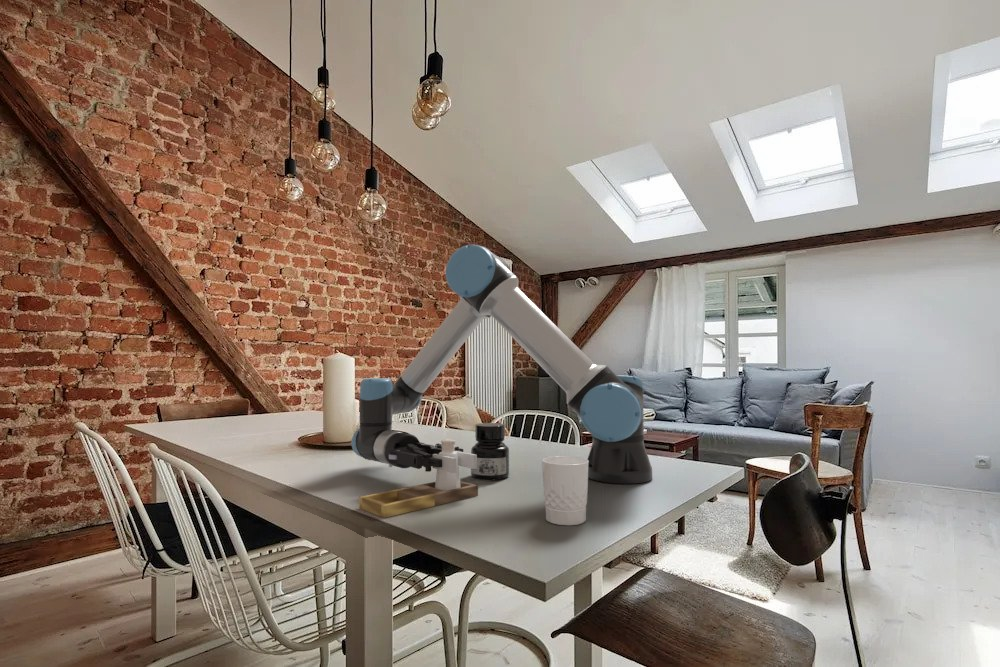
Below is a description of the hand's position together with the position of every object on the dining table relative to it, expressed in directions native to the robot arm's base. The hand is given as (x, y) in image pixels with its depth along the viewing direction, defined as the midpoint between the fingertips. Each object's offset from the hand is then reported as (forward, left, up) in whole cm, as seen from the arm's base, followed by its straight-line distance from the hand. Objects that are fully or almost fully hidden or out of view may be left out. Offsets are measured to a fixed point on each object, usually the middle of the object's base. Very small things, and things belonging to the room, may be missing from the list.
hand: (465, 463), depth 102 cm
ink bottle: (+9, -20, -7) cm, 23 cm away
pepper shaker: (+5, -1, -7) cm, 9 cm away
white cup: (-22, -1, -7) cm, 23 cm away
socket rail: (+6, +5, -7) cm, 11 cm away
